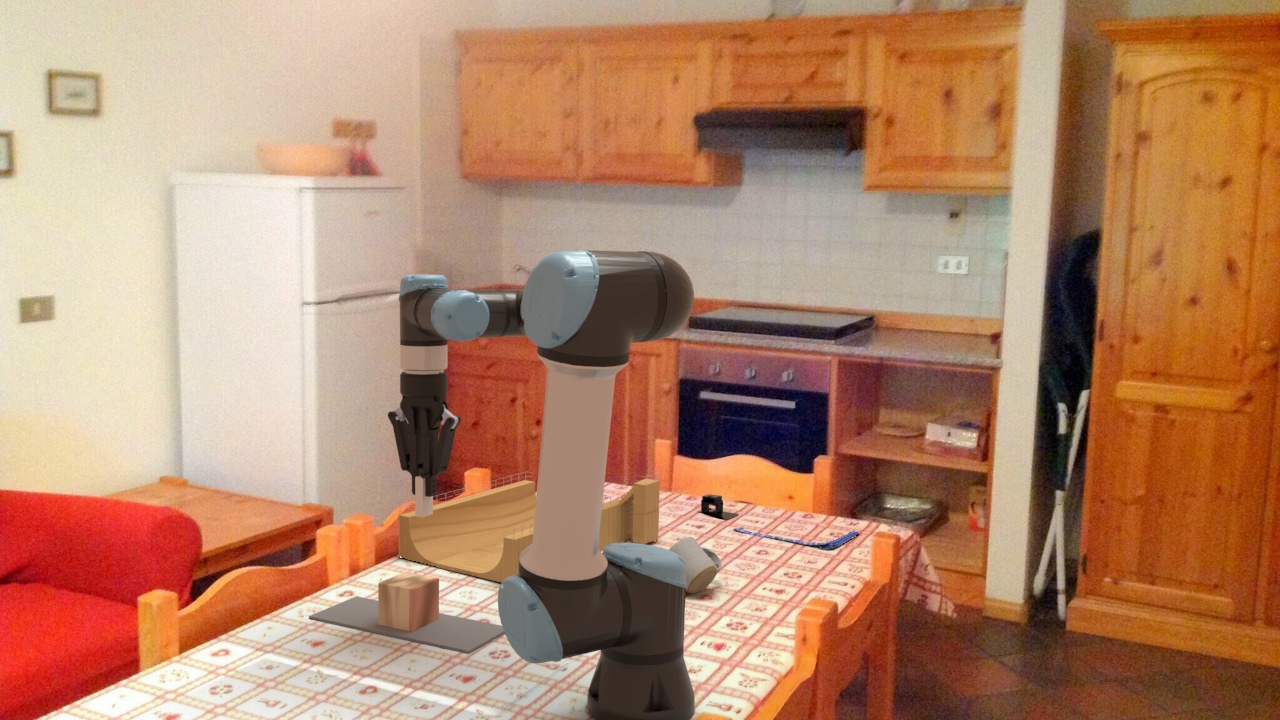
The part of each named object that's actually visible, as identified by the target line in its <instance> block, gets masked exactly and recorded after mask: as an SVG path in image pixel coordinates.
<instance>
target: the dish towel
mask: <svg viewBox="0 0 1280 720" xmlns="http://www.w3.org/2000/svg"><path fill="white" fill-rule="evenodd" d="M732 530H733V532H736V533H737V532H738V533H742V534H746V535H749V536H754V537H760V538H767V539H770V540H779V541H783V542H788V543H793V544H799V545H802V546H807V547H811V548H816V547H817V548H818V549H817V548H816V549H817V550H823V549H825V550H824V551H831V550H833V549H832V548H834V549H835V547H836V548H837V547H840V546H842V544H843V543H844V544H846V543H847V542H849V541H850V539H851V540H853V539H854V538H856V537H855V536H856V535H857V534H859V533H860V532H859V531H857V530H854V531H852V532H849V533H848V534H847V535H845V536H843V537H841V536H840V537H841V538H839V537H837V538H838V539H836V538H835V539H836V540H834V539H832V540H833V541H831V540H829V541H830V542H828V541H826V543H824V542H817V543H816V541H810V542H809V541H802V540H799V539H791V538H788V537H787V538H786V537H780V536H773V535H771V534H763V533H759V532H752V531H750V530H746V529H744V527H737V528H736V527H735V528H733V529H732ZM858 532H859V533H858ZM852 537H853V539H852ZM848 540H849V541H848ZM846 541H847V542H846ZM844 544H843V545H844ZM830 549H831V550H830Z"/></svg>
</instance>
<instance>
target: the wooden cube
mask: <svg viewBox="0 0 1280 720" xmlns="http://www.w3.org/2000/svg"><path fill="white" fill-rule="evenodd" d="M377 585H378V587H377V589H378V591H377V592H378V593H377V594H378V595H377V597H378V600H377V601H378V625H383V626H388V627H393V628H397V629H402V630H407V631H411V632H414V631H416V630H418V629H420V628H422V627H424V626H426V625H428V624H430V623H432V622H434V621H436V620H438V619H439V613H440V578H439V577H434V576H429V575H428V576H427V575H422V574H416V573H412V572H407V571H403V572H401V573H399V574H397V575H394V576H392V577H390V578H387V579H385V580H382V581H380V582H378V584H377Z"/></svg>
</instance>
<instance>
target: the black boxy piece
mask: <svg viewBox="0 0 1280 720" xmlns="http://www.w3.org/2000/svg"><path fill="white" fill-rule="evenodd" d="M700 505H701V507H700V510H699V511H697V513H699V514H701V515H704V516H707V517H711V518H713V519H714V518H715V519H718V520H722V521H729V520H733V519H735V518H737V517H739V515H740V514H739V513H736V512H728V511H724V500H723V496H722V495H719V494H712V493H711V494H710V493H709V494H705V495H702V497H701V500H700ZM710 506H712V507H714V508H712V507H710Z"/></svg>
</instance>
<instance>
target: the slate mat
mask: <svg viewBox="0 0 1280 720" xmlns="http://www.w3.org/2000/svg"><path fill="white" fill-rule="evenodd" d="M308 619H310V620H314V621H319V622H323V623H328V624H332V625H337V626H342V627H346V628H350V629H351V628H352V629H356V630H360V631H365V632H369V633H375V634H377V635H382V636H388V637H391V638H392V637H393V638H397V639H402V640H406V641H410V642H414V643H419V644H423V645H429V646H433V647H439V648H443V649H448V650H452V651H456V652H461V653H466V654H471V653H473V652H474V651H476V650H478V649H480V648H481V647H483V646H485V645H487V644H488V643H490V642H492V641H494V640H495V639H497V638H499V637H500V636H502V635H504V634H505V632H504V630H503V627H502V624H495V623H491V622H485V621H480V620H475V619H471V618H465V617H461V616H460V617H459V616H455V615H451V614H447V613H446V614H445V613H441V612H439V619H438V620H436V621H434V622H432V623H430V624H428V625H426V626H424V627H422V628H420V629H418V630H416V631H414V632H411V631H407V630H402V629H397V628H393V627H388V626H383V625H378V600H377V599H373V598H367V597H361V596H359V595H358V596H357V595H356V596H354V597H351V598H349V599H347V600H344V601H342V602H339V603H338V604H334V605H333V606H330V607H328V608H327V607H326V608H325V609H323V610H321V611H317V612H315V613H313V614H311V615H308Z"/></svg>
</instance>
